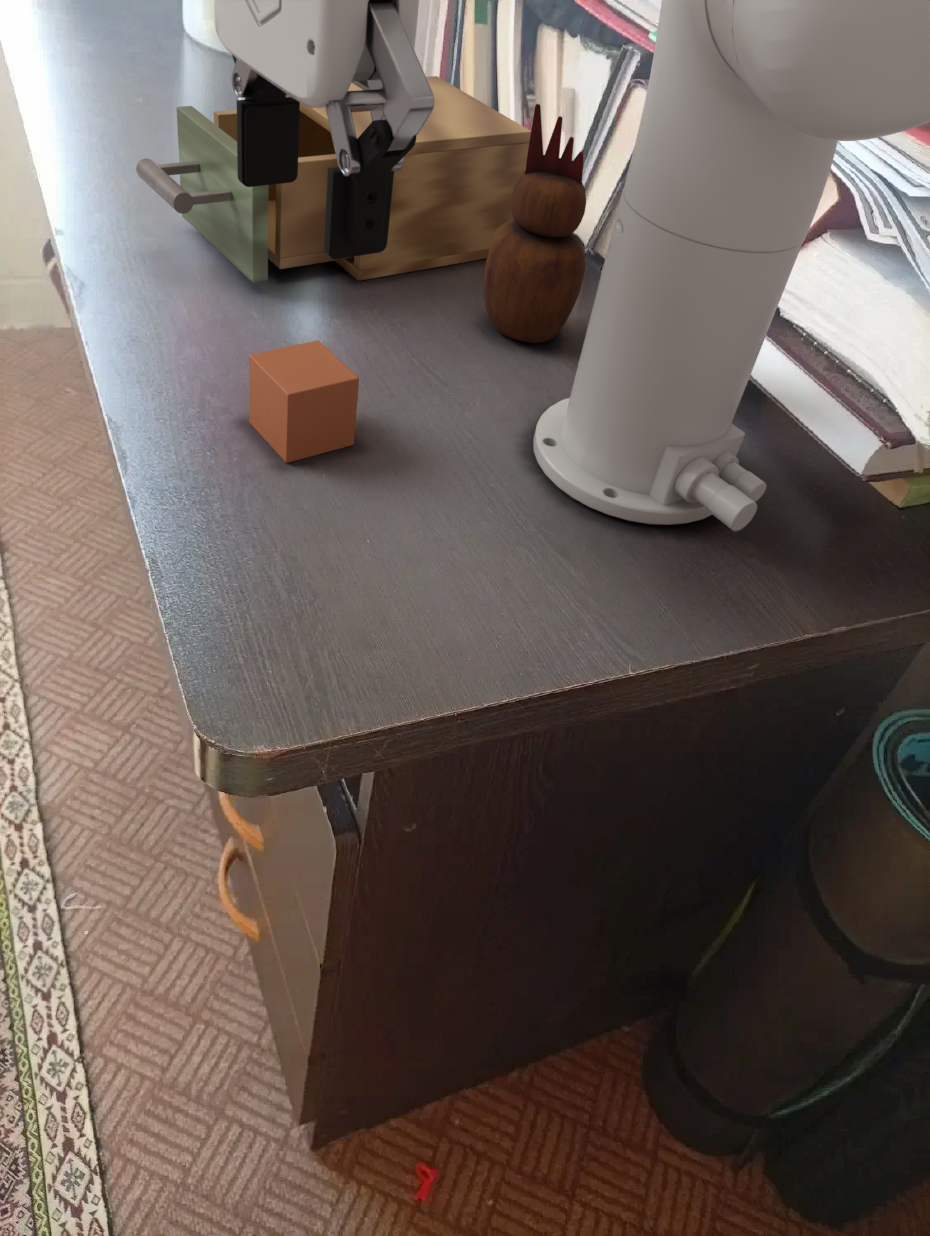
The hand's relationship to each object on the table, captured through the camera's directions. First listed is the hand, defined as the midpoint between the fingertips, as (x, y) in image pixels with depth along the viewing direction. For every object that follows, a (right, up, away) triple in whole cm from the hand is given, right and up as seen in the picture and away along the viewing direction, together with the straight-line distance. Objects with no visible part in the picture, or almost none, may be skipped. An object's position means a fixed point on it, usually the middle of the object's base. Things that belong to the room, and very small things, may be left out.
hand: (309, 214), depth 48 cm
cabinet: (+2, +11, +31) cm, 33 cm away
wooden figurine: (+12, +1, +22) cm, 25 cm away
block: (-2, -9, +9) cm, 13 cm away
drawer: (-7, +8, +25) cm, 27 cm away
